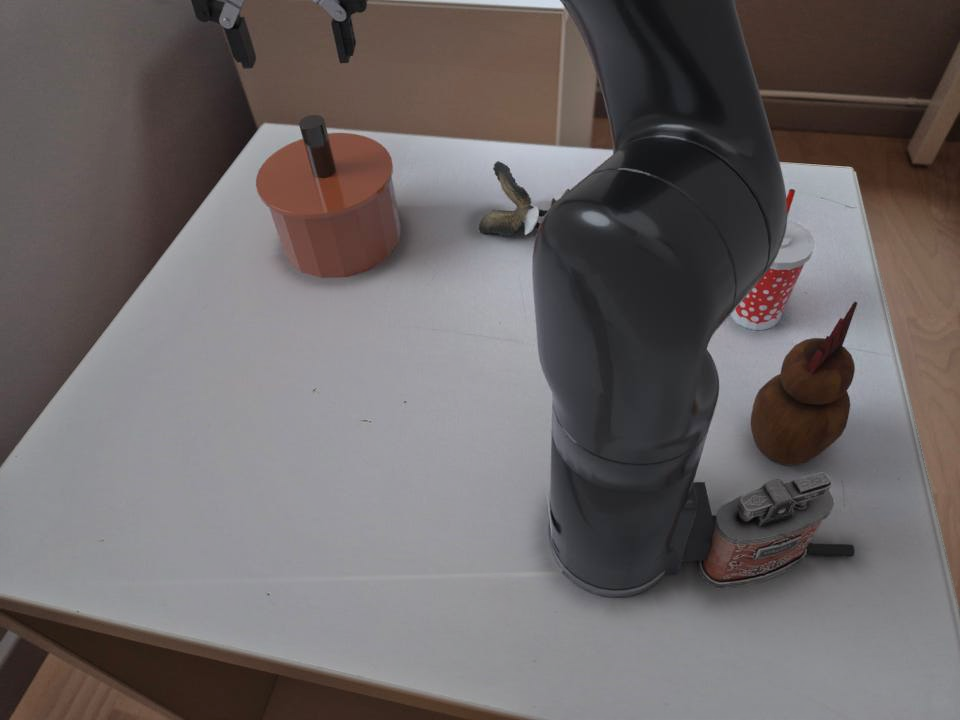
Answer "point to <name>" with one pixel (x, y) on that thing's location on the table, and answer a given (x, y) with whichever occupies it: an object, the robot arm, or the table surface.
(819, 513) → the lighter
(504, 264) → the table surface
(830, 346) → the wooden figurine
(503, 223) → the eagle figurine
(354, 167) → the lid
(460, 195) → the table surface
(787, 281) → the beverage cup
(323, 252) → the pot
